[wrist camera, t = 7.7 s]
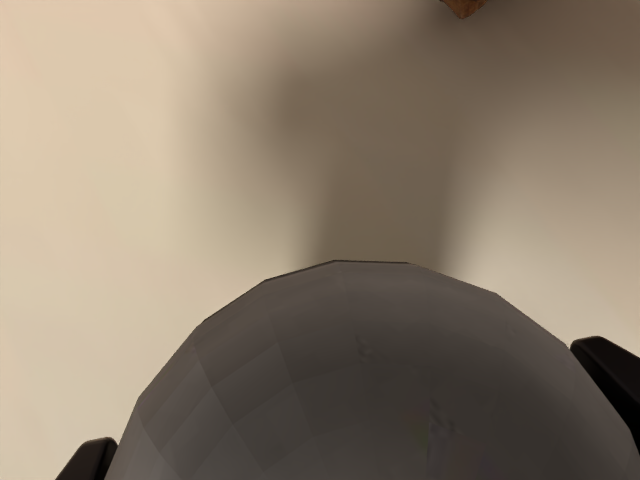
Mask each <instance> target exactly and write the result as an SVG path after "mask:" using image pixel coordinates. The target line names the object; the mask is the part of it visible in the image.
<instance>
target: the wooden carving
mask: <svg viewBox="0 0 640 480" xmlns="http://www.w3.org/2000/svg"><path fill="white" fill-rule="evenodd" d="M440 1H444V2H445V3H446V4H447V5H448V6H449V7H450V8H451V9H452V10H453V12H454V13H455V14H456V15H457V16H458V17H459V19H464V18H466V17H468V16H470V15H471V14H473V13H474V12H475V11H476V10H477V9H479V8H480V7H482V6H483V5H484V4H485V3H486V2H487V1H488V0H440Z"/></svg>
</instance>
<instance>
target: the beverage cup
mask: <svg viewBox="0 0 640 480" xmlns="http://www.w3.org/2000/svg"><path fill="white" fill-rule="evenodd" d="M104 480H640V455H639V452H638V450H637V447H636V445H635V442H634V440H633V437H632V434H631V432H630V429H629V428H628V426H627V425H626V424H625V422H624V421H623V419H622V418H621V417H620V415H619V414H618V413H617V411H616V410H615V409H614V407H613V406H612V405H611V403H610V402H609V401H608V399H607V398H606V397H605V396H604V394H603V393H602V392H601V390H600V389H599V388H598V386H597V385H596V384H595V382H594V381H593V380H592V378H591V377H590V376H589V374H588V373H587V372H586V371H585V369H584V368H583V367H582V365H581V364H580V363H579V361H578V360H577V359H576V357H575V356H574V355H573V353H572V352H571V351H570V350H569V348H568V347H567V346H566V344H565V343H563V342H562V341H560V340H559V339H558V338H556V337H555V336H554V335H552V334H551V333H550V332H548V331H547V330H546V329H544V328H543V327H541V326H540V325H539V324H537V323H536V322H535V321H533V320H532V319H531V318H529V317H528V316H526V315H525V314H524V313H522V312H521V311H520V310H518V309H517V308H516V307H514V306H513V305H512V304H510V303H509V302H507V301H506V300H505V299H503V298H502V297H501V296H499V295H498V294H497V293H494V292H491V291H488V290H486V289H483V288H480V287H477V286H474V285H471V284H468V283H466V282H463V281H460V280H457V279H454V278H451V277H449V276H446V275H443V274H440V273H437V272H434V271H431V270H429V269H426V268H423V267H420V266H417V265H414V264H409V263H407V262H379V261H348V260H333V261H329V262H326V263H322V264H319V265H315V266H312V267H308V268H305V269H301V270H298V271H294V272H291V273H287V274H284V275H280V276H277V277H273V278H270V279H266V280H264V281H262V282H261V283H259V284H258V285H256V286H255V287H253V288H252V289H250V290H249V291H247V292H246V293H244V294H243V295H241V296H240V297H238V298H237V299H235V300H234V301H232V302H231V303H229V304H228V305H226V306H225V307H223V308H222V309H220V310H219V311H217V312H216V313H214V314H213V315H211V316H210V317H208V318H207V319H205V320H204V321H203V322H202V323H201V324H200V325H198V326H197V327H196V328H195V329H194V330H193V332H192V333H191V334H190V335H189V336H188V338H187V339H186V340H185V341H184V343H183V344H182V345H181V346H180V347H179V349H178V350H177V351H176V352H175V354H174V355H173V356H172V357H171V358H170V360H169V361H168V362H167V363H166V365H165V366H164V367H163V368H162V369H161V371H160V372H159V373H158V374H157V376H156V377H155V378H154V379H153V380H152V382H151V383H150V384H149V385H148V387H147V388H146V389H145V390H144V391H143V393H142V394H141V395H140V396H139V398H138V400H137V402H136V405H135V407H134V409H133V412H132V414H131V417H130V419H129V421H128V424H127V426H126V429H125V431H124V433H123V436H122V438H121V441H120V443H119V445H118V448H117V450H116V452H115V455H114V457H113V460H112V462H111V464H110V467H109V469H108V472H107V474H106V476H105V479H104Z"/></svg>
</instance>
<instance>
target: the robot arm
mask: <svg viewBox="0 0 640 480" xmlns="http://www.w3.org/2000/svg"><path fill="white" fill-rule="evenodd" d="M570 351H571V352H572V353H573V355H574V356H575V357H576V359H577V360H578V361H579V363H580V364H581V365H582V367H583V368H584V369H585V371H586V372H587V373H588V374H589V376H590V377H591V378H592V380H593V381H594V382H595V384H596V385H597V386H598V388H599V389H600V390H601V392H602V393H603V394H604V396H605V397H606V398H607V399H608V401H609V402H610V403H611V405H612V406H613V407H614V409H615V410H616V411H617V413H618V414H619V415H620V417H621V418H622V419H623V421H624V422H625V424H626V425H627V426H628V428H629V429H630V432H631V434H632V437H633V440H634V442H635V445H636V447H637V450H638V452H639V455H640V358H639V357H638V356H636V355H634V354H632V353H630V352H629V351H627V350H625V349H623V348H622V347H620V346H618V345H616V344H614V343H613V342H611V341H609V340H607V339H606V338H603V337H601V336H591V337H586V338H581V339H577V340H574V341H573V342H572V344H571V346H570ZM117 448H118V445H117V443H116V441H115V440H114V439H113V438H111V437H104V438H99V439H94V440H90V441H87V442H85V443H83V444H82V445H81V446H80V447H79V448H78V450H77V451H76V452H75V454H74V455H73V456H72V458H71V459H70V460H69V462H68V463H67V464H66V466H65V467H64V468H63V470H62V471H61V472H60V474H59V475H58V476H57V478H56V479H55V480H104V479H105V476H106V474H107V472H108V469H109V467H110V464H111V462H112V460H113V457H114V455H115V452H116V450H117Z"/></svg>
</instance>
